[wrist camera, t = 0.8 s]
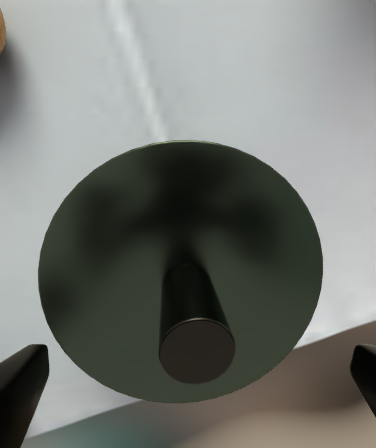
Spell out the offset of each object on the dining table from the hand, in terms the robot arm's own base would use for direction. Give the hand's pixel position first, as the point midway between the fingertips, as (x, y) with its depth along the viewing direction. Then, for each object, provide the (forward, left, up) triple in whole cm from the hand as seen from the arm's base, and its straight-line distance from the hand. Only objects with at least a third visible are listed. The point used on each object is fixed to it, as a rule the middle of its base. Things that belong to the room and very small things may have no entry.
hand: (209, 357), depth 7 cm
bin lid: (0, 0, -5) cm, 5 cm away
